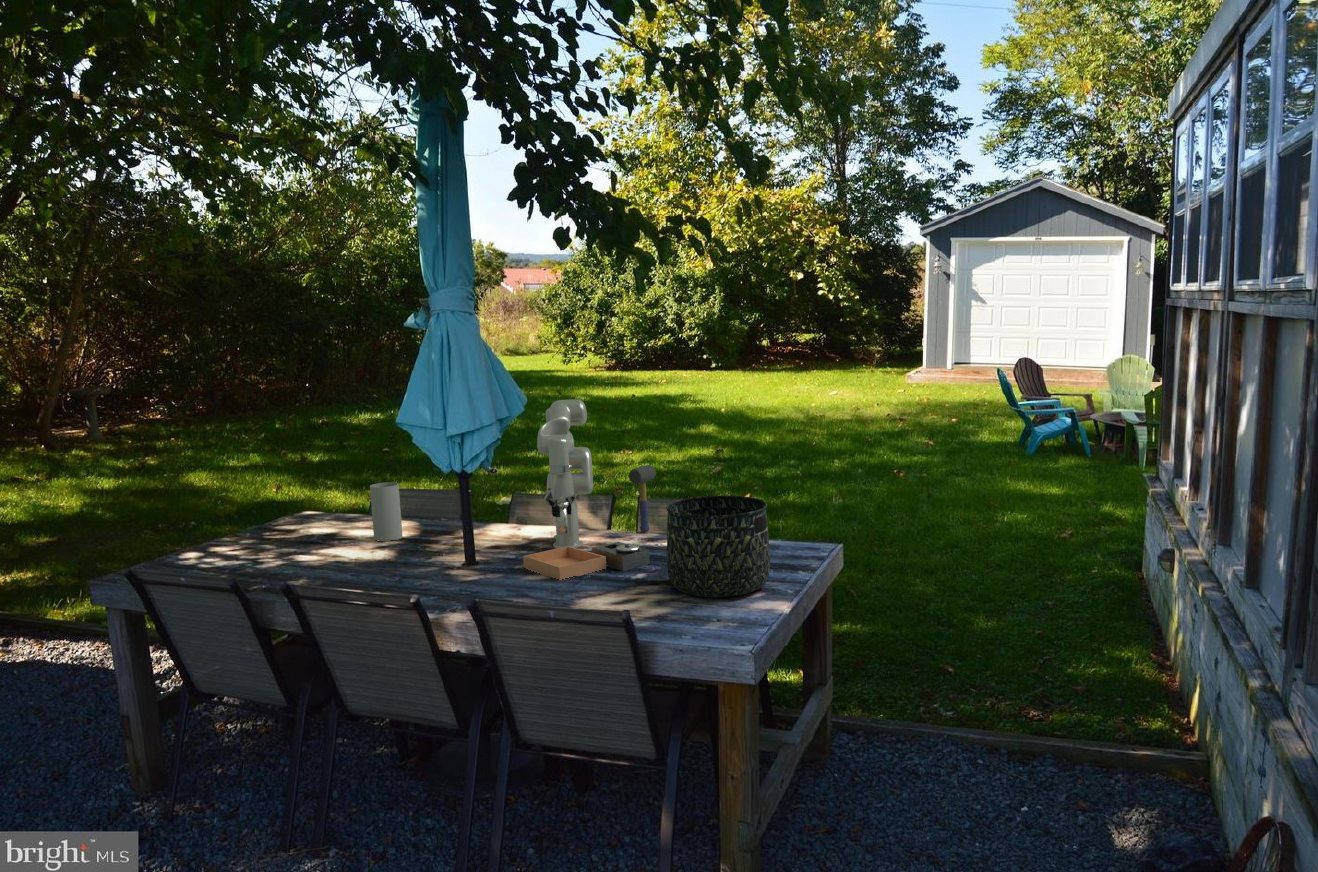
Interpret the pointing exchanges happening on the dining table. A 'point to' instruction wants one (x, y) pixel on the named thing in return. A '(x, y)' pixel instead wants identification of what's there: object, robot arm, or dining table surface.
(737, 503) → the basket
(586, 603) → the dining table surface
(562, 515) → the lock pin
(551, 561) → the tray
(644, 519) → the rubber mallet
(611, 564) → the pulley bracket
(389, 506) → the cylinder vase
